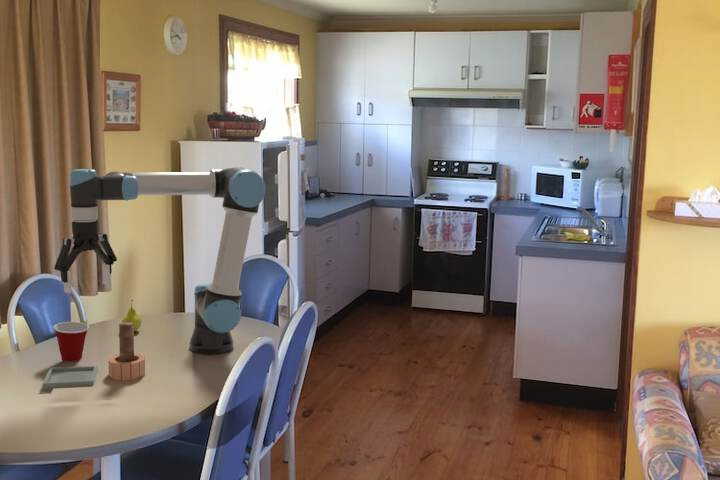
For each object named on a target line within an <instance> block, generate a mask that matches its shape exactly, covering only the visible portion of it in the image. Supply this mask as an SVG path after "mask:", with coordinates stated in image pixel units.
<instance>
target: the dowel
mask: <svg viewBox="0 0 720 480" xmlns="http://www.w3.org/2000/svg"><path fill="white" fill-rule="evenodd" d="M118 325H119V326H118V328H119V329H118V330H119V332H118V333H119V335H118V336H119V354H120V362H132V361H134V353H135V337H134V335H135V333H134V332H135V331H134V323H132V322H123V323H122V322H120V323H119V324H118Z"/></svg>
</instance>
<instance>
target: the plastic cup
mask: <svg viewBox="0 0 720 480" xmlns="http://www.w3.org/2000/svg"><path fill="white" fill-rule="evenodd" d="M89 329H90V325H88V324H87V323H84V322H81V321H80V322H78V321H64V322H60V323H59V322H58V323H56V324H55V325H53V330H54V331H55V335H56V338H57V343H58V350H59V352H60V357H61V361H62V363H63V364H65V362H76V361H79V360H81V359H82V358H83V353H84V352H83V351H84V347H85V341H86V336H87V333H88V331H89Z"/></svg>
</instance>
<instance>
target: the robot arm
mask: <svg viewBox="0 0 720 480" xmlns="http://www.w3.org/2000/svg"><path fill="white" fill-rule="evenodd" d="M69 193H70V210H71V220H73V221H72V222H71V232H72V238H67V237H64V238H63V239H62V247H61V249H60V252H59V253H58V257H57V259H56V262H55V264H54V267H53V268H54V270H55V271H59V272H60V278H61V280H60V281H61V283H63V292H64V293H66V294H72V292H73V291H72V272H71V271H69V270H70V269H71V267H72V265H73V264H74V262H75V261H76V260H77V258H78V256H79V255H80V254H81V253H82V252H87V251H94V253H95V254H96V255H97V256H98V257H99V258H100V259H101V261H102V262H103V263H102V265H101V266H102V267H101V269H102V284H103V285H105V286H111V275H112V272H113V271H112V270H113V269H112V265H114V263H115V262H117V261H118V258H117V256H116V254H115V251H114V250H113V248H112V246H111V244H110V242H109V240H108V234H107V233H102V232H100V233H99V221H98V219H99V210H98V201H126V202H127V201H134V200H136V199H138V196H192V195H193V196H196V195H198V196H200V195H201V196H204V195H205V196H206V195H209V196H210V197H211V198H221V199H223V201H222V208H223V210H224V211H225V216H224V221H223V227H222V230H221V231H222V232H221V236H220V242H219V247H218V252H217V258H216V262H215V268H214V274H213V278H212V282H211V283H201V284H197V285H196V286H195V288H194V293H193V296H194V328H193V331H192V334H191V337H190V339H189V340H190V341H189V351H191V352H193V353H196V354H201V355H217V354H218V355H219V354H224V353H228V352H230V351H232V350H233V349H234V339H233V335H232V334H231V331H232V330H234V329H235V328H236V327H237V326H238V325H239V324H240V322H241V319H242V309H241V308H240V303H241V300H242V295H243V293H242V291H241V289H239V287H240V286H239V284H240V281H241V280H240V279H241V275H242V269H243V265H244V260H245V254H246V250H247V244H248V240H249V235H250V229H251V224H252V219H253V217H254V216H256V215H258V212H259V206H260V203H262V201H263V200H264V198H265V196H266V184H265V181H264V179H263V178H262V176H260V174H258V172H256V171H254V169H253V170H252V169H249V168H245V167H242V166H240V167H239V166H236V167H228V168H217V169H216V168H212V169H210V170H209V171H208V172H207V171H205V172H204V171H202V172H201V171H198V172H197V171H195V172H194V171H193V172H189V171H187V172H186V171H183V172H182V171H181V172H178V171H177V172H176V171H175V172H173V171H170V172H169V171H168V172H167V171H166V172H163V171H162V172H161V171H160V172H159V171H158V172H157V171H156V172H155V171H154V172H150V171H149V172H146V171H145V172H129V171H128V172H124V171H123V172H119V171H110V172H107V173H106V174H105V175H98V174H97V171H96V170H95V169H90V168H79V169H78V168H77V169H73V170H71V171H70V173H69ZM98 233H99V234H98ZM98 242H100V244H101V246H102V247H101V246H100V245H99V244H98ZM71 247H72V248H71ZM102 248H103V249H102Z"/></svg>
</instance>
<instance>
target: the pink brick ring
mask: <svg viewBox="0 0 720 480" xmlns="http://www.w3.org/2000/svg"><path fill="white" fill-rule="evenodd" d="M107 362H108V378H110V379H112V380H115V381H130V380H131V381H132V380H137V379H140V378H142V377H144V376H145V375H146V356H145V355H143V354H141V353H135V352H134V361H132V362H120V353H119V354H114V355H112V356H110V357H109V358H108V361H107Z"/></svg>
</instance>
